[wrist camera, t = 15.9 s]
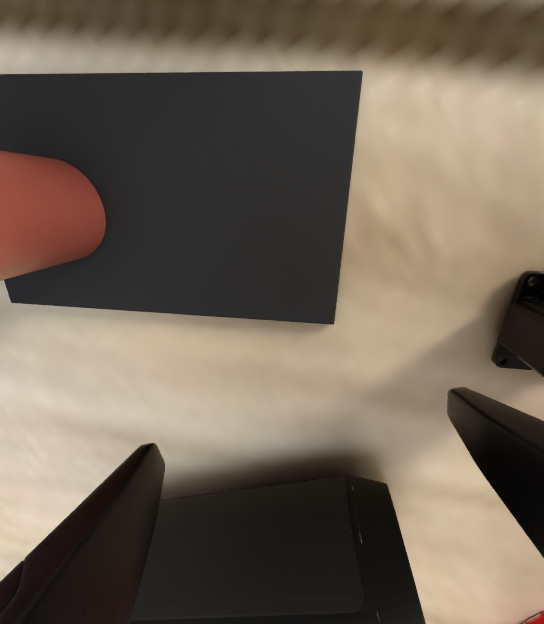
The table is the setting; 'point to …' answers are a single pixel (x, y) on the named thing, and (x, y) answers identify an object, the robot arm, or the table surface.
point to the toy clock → (536, 619)
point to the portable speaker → (280, 558)
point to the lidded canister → (45, 214)
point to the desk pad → (196, 187)
